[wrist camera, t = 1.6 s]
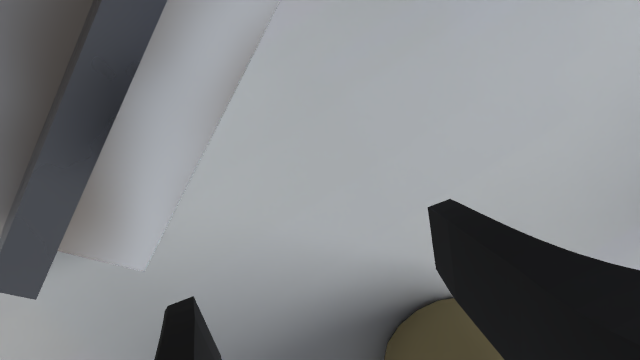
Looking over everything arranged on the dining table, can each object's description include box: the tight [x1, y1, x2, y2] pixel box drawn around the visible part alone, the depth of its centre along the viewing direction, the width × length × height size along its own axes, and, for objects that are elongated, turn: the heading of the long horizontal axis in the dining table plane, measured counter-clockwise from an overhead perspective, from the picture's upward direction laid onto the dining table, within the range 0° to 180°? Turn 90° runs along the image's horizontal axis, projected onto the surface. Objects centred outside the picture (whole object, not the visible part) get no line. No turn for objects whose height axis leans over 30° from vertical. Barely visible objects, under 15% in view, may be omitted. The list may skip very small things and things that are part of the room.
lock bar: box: [0, 0, 167, 300], centre depth 14 cm, size 14×3×4 cm, turn 150°
